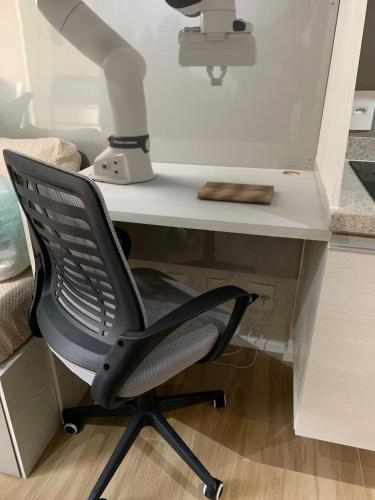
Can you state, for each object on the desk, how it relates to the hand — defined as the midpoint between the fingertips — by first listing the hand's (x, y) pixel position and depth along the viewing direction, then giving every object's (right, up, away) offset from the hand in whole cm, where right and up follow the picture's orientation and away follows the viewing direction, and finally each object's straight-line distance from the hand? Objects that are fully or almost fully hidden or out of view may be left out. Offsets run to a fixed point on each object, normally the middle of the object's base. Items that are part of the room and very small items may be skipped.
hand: (216, 85), depth 105 cm
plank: (+6, -29, +6) cm, 30 cm away
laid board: (+7, -26, +12) cm, 30 cm away
